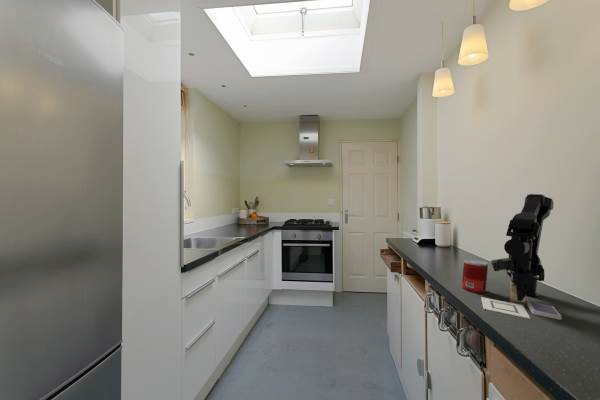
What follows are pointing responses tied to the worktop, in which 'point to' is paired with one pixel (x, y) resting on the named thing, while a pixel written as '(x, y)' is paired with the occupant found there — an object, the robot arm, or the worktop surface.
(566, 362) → the worktop surface
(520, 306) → the print card
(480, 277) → the canned food
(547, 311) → the ink pad
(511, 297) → the stamp
